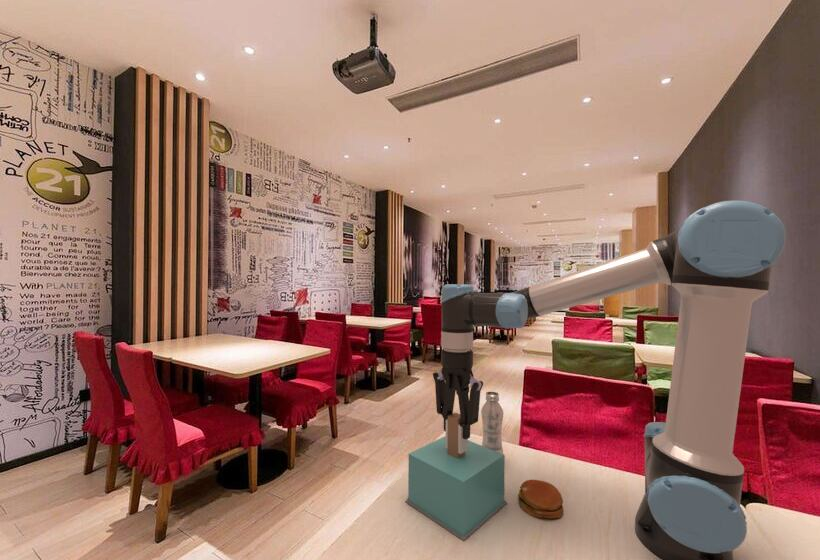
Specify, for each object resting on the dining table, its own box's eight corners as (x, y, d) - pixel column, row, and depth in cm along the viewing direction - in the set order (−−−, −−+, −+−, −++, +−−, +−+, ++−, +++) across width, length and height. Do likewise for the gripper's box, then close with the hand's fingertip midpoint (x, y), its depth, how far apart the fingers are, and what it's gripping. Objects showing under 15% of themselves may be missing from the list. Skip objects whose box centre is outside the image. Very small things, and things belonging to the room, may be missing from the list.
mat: (507, 503, 80) (507, 501, 80) (463, 541, 68) (463, 539, 68) (450, 474, 92) (450, 473, 92) (405, 502, 80) (405, 500, 80)
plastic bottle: (503, 458, 101) (503, 390, 101) (504, 470, 94) (504, 398, 95) (480, 455, 102) (481, 389, 103) (480, 467, 96) (480, 396, 96)
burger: (572, 516, 76) (572, 495, 76) (537, 525, 73) (537, 503, 73) (542, 491, 85) (541, 472, 85) (510, 498, 82) (510, 479, 82)
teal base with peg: (504, 501, 80) (504, 416, 80) (463, 536, 69) (463, 437, 69) (450, 474, 91) (451, 399, 92) (408, 500, 80) (408, 415, 80)
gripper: (495, 351, 77) (494, 455, 77) (441, 343, 89) (440, 433, 89) (476, 356, 72) (475, 467, 72) (421, 346, 84) (420, 442, 83)
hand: (456, 448), depth 80 cm, fingers closed on teal base with peg, 3 cm apart
